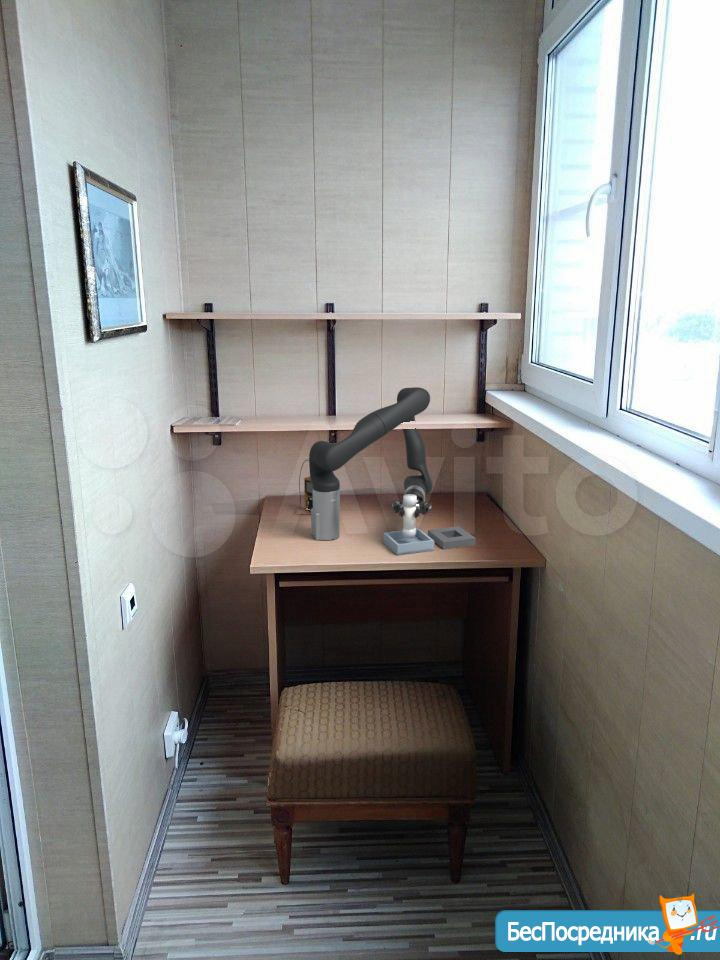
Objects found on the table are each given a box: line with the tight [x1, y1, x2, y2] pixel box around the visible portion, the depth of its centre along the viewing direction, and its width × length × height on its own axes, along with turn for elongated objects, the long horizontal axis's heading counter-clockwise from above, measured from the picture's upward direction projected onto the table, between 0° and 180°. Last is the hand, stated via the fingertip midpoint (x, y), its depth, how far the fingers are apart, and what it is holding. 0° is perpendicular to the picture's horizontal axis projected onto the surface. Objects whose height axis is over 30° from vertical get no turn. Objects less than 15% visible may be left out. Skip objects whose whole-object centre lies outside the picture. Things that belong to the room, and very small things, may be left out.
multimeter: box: [298, 459, 313, 510], centre depth 254 cm, size 15×10×20 cm
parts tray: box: [383, 528, 435, 556], centre depth 225 cm, size 13×12×4 cm
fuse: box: [401, 494, 417, 539], centre depth 223 cm, size 4×4×14 cm
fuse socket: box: [427, 525, 476, 550], centre depth 230 cm, size 12×12×2 cm
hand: (408, 514), depth 219 cm, fingers closed on fuse, 4 cm apart
